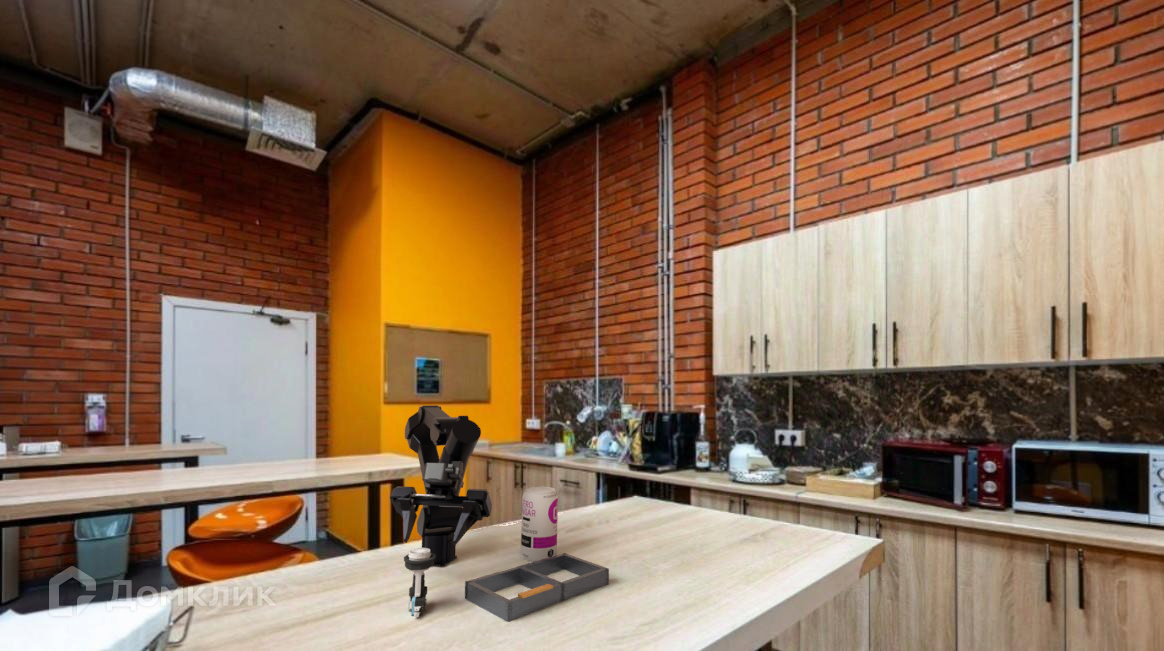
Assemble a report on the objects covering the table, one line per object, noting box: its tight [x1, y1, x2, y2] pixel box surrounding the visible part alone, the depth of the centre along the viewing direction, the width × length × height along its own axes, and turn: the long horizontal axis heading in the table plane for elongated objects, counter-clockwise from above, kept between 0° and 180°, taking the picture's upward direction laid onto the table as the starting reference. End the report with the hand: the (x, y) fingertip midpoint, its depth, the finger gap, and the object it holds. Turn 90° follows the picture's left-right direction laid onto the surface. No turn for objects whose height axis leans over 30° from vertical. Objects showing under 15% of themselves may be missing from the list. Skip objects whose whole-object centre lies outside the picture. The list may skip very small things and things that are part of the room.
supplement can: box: [520, 486, 559, 563], centre depth 126 cm, size 8×8×15 cm
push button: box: [403, 547, 435, 618], centre depth 96 cm, size 7×5×10 cm
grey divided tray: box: [464, 552, 610, 622], centre depth 105 cm, size 13×25×3 cm, turn 135°
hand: (429, 542), depth 100 cm, fingers open, 9 cm apart
